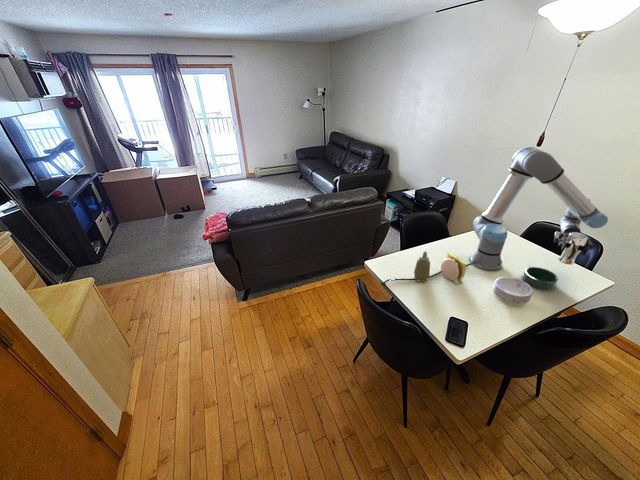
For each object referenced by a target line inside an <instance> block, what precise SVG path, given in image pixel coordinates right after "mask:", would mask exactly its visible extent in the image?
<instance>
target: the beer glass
mask: <svg viewBox="0 0 640 480" xmlns="http://www.w3.org/2000/svg"><path fill="white" fill-rule="evenodd" d="M588 237H589V236H588V235H587V234H585V233H582V232H581V233H578V232H571V233H570V234H569V236H568V237H567V239H566V241H565V242H566V247H565V249H564V251H562V252H561V255H560V256H559V257H558V259H557V260H558V262H560V263H561V264H565V265H570V266H572V265H574V264H575V261H576V259H577V256H578V255H579V254H580V253H581V252H582V249H583V247H584V246H585V244H586V241H587V239H588Z"/></svg>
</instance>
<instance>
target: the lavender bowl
mask: <svg viewBox="0 0 640 480" xmlns="http://www.w3.org/2000/svg"><path fill="white" fill-rule="evenodd" d="M492 292H493V294H495V296H496V297H497V298H498V299H499V300H500V301H502V302H504V303H505V304H508V305H513V306H519V305H525V304H528V303H529V302H530V301H531V299H532V296H533V294H534V288H532V287H531V286H530V285H528V284H527V283H526V282H524V281H523V280H522V279H519V278H517V277H512V276H501V277H497V278H496V279H495V280H494V283H493V286H492Z"/></svg>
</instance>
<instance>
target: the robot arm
mask: <svg viewBox="0 0 640 480" xmlns="http://www.w3.org/2000/svg"><path fill="white" fill-rule="evenodd" d="M511 162H512V164H511V166H510V167H509V168H508V171H509V175H508V176H507V178H506V180H505V182H503V185H502V186H501V188H500V190H499V191H498V193H497V194H496V196H495V198H494V199H493V200H492V203H491V204H490V205H489V207H488V208H487V210H486V211H484V212H482V213H481V214H480V215H479V216H477V217H476V218H475V219H474V220H473V222H472V229H473V231H474V233H475V235H476V236H477V238H478V239H479V243H478V246H477V249H476V251H474V253H473V254H472V256H471V257H470V263H468V264H466V267H465V268H467V267H469V266H471V265H473V266H475V267H477V268H478V269H482V270H485V271H497V270H499V269H500V268H501V266H502V264H503V260H502V257H501V256H502V255H501V254H502V251H503V249H504V246H505V244H506V240H507V238H508V230H507V228H506V227H505V226H503V225H502V224H503V222H504V220H503V217H505V214H506V212H508V210H509V208H510V207H511V206H512V204H513V202H514V201H515V199H516V198H517V196H518V195H519V193H520V192H521V190H522V189H523V187H524V186H525V185H526V183H527V181H528V180H531V179H533V178H535V179H537V180H538V181H539V182H540V183H541V184H542V185H546V186H547V187H548V188H549V189H550V190H551V191H553V193H554V194H555V195H556V196H557V197H558V198H559V199H560V200H561V201H562V202H563V203H564V204H565V205H566V206H567V209H566V210H565V213H564V215H563V217H562V218H561V219H560V221H559V226H560V231H559V230H556V231H555V232H554V239H553V243H554V244H556V243H557V246H559V247H560V248H561V249H560V250H561V251H562V252H563V251H564V249H565V247H566V242H565V241H566V239H567V237H568V236H569V234H570V233H571V232H578V233H582V231H581V227H580V225H581V222H582V223H583V224H585V225H586V226H587V227H590V228H591V229H601V228H603V227H604V226H606V225H607V224H608V222H609V218H608V216H607V215H606V214H605V213H603V212H601V211H600V210H599V209H598V208H597V207H596V206H595V204H593V202H592V201H591V199H590V198H588V197H587V196H586V195H585V194H584V193H583V192H582V191H581V190H580V189H579V188H578V187H577V186H576V185H575V184H574V183H573V182H572V180H571V179H570V178H569V177H568V176H567V175H566V174H565V169H564V168H563V167H562V166H561V165H560V163H559V161H557V159H555V157H554V156H553V155H552V154H551V153H550V152H548V151H545V150H543V149H540V148H539V147H535V146H525V147H523V148H520V149H519V150H517V151H516V152H515V153H514V154H513V156H512V160H511ZM560 237H561V238H560ZM593 248H594V243H593V242H592V240H591V237H590V236H588V239H587V241H586V244H585V246H584V247H583V249H582V250H581V253H582V256H586V255H587V253H588V252H589V251H592V249H593ZM440 274H443V273H442V271H441V270H440V271H438V272H436V273H434V274H432V275H429V277H428V279H430V278H433V277H436V276H438V275H440ZM391 279H392V278H390V279H386V280H385V281H383V282H382V283H381V285H385V284H386V283H388V282H393V281H417V280H416V279H415V278H401V279H397V278H394V279H395V280H391ZM389 280H391V281H389ZM387 281H388V282H387ZM385 282H386V283H385Z"/></svg>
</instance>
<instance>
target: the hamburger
mask: <svg viewBox="0 0 640 480" xmlns="http://www.w3.org/2000/svg"><path fill="white" fill-rule="evenodd" d="M466 265H467V264H466V263H465V262H464V261H462V260H461V258H459V257H458V256H455V255H453V254H452V253H449V252H447V254H446V258H444V259H443V260H442V261H441V263H440V271H442V273H441V274H442V275H443V277H445V278H446V279H447V280H449V281H453V282H454V283H455V284H459V283H460V284H461V283H462V281H463V278H464V277H465V274H466V268H467V267H466Z"/></svg>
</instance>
